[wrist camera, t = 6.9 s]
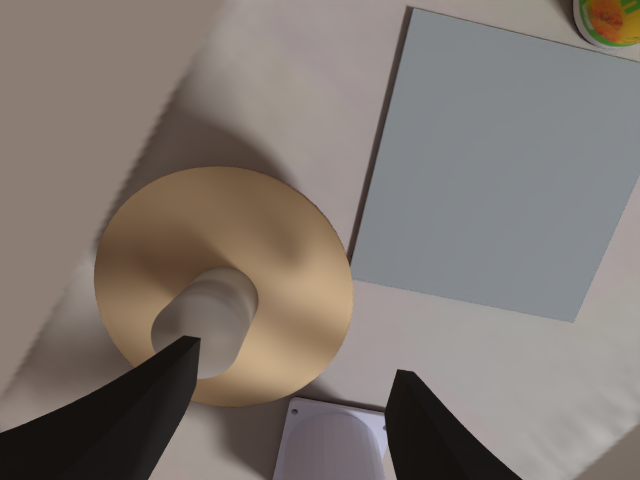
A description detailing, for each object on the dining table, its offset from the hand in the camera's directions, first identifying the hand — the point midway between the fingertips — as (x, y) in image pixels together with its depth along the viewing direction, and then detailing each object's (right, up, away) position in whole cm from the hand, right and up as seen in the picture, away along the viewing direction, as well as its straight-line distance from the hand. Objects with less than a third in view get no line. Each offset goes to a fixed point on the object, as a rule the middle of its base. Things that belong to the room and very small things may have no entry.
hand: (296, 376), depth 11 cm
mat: (+12, +8, +9) cm, 17 cm away
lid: (-4, +2, +6) cm, 8 cm away
